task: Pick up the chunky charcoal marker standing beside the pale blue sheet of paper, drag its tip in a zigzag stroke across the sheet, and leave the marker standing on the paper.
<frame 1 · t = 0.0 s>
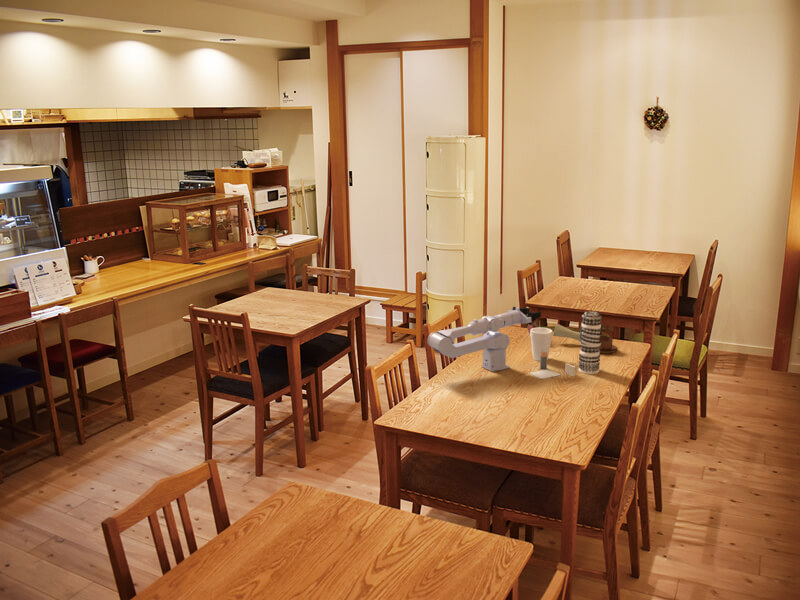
hand: (534, 312, 306), 22 cm above the table, tool horizontal, fingers open, 7 cm apart
flower vase: (557, 343, 336), on the table
decorative candle: (588, 370, 298), on the table
marker: (543, 368, 301), on the table
cup and saucer: (603, 351, 323), on the table
foam cup: (540, 359, 313), on the table
paper: (544, 374, 294), on the table
rectangular block: (569, 374, 293), on the table
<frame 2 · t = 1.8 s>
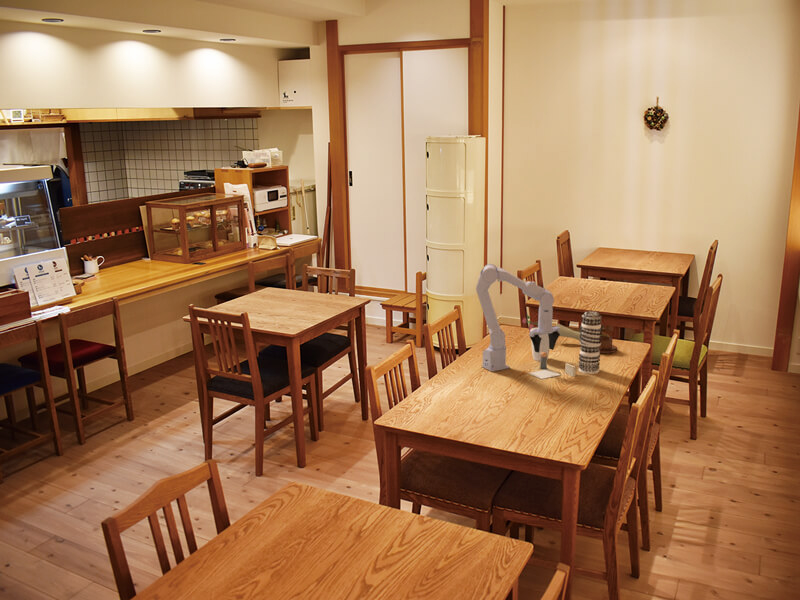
hand: (544, 350, 299), 8 cm above the table, tool pointing down, fingers open, 7 cm apart
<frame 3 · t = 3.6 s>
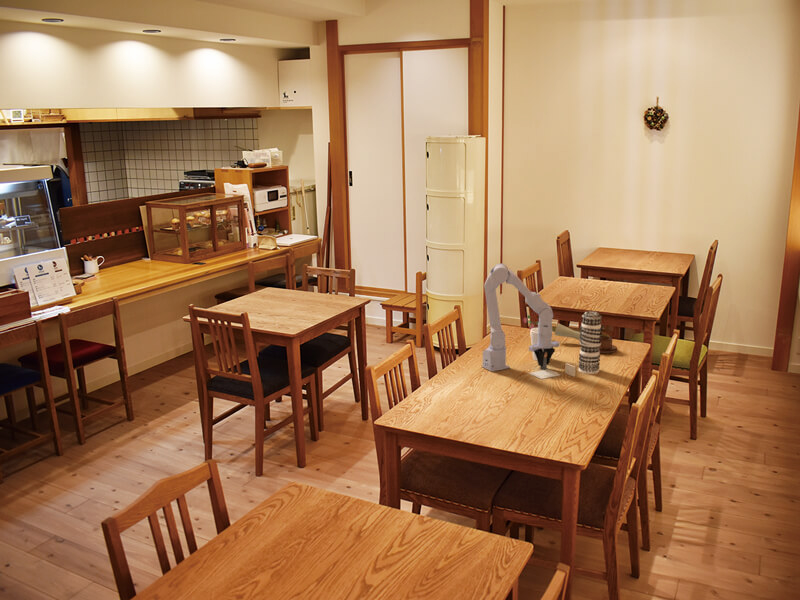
hand: (543, 365, 300), 2 cm above the table, tool pointing down, fingers closed on marker, 3 cm apart
flower vase: (558, 342, 337), on the table, touching cup and saucer
marker: (543, 368, 301), on the table, touching gripper
cup and saucer: (603, 351, 323), on the table, touching flower vase
everything else where it was.
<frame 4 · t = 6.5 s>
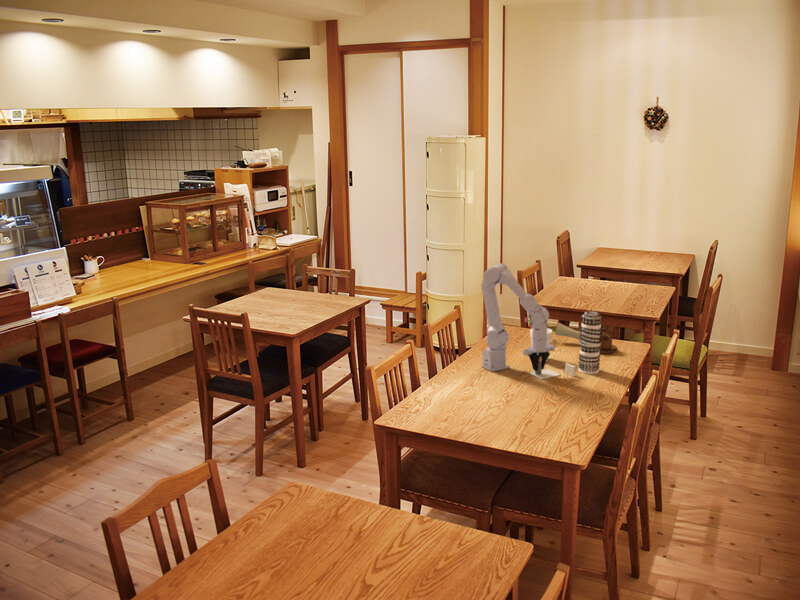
hand: (538, 369, 293), 2 cm above the table, tool pointing down, fingers closed on marker, 3 cm apart
flower vase: (559, 342, 337), on the table
marker: (538, 373, 293), point 1 cm above the table, touching gripper
cup and saucer: (603, 351, 323), on the table
everything else where it was.
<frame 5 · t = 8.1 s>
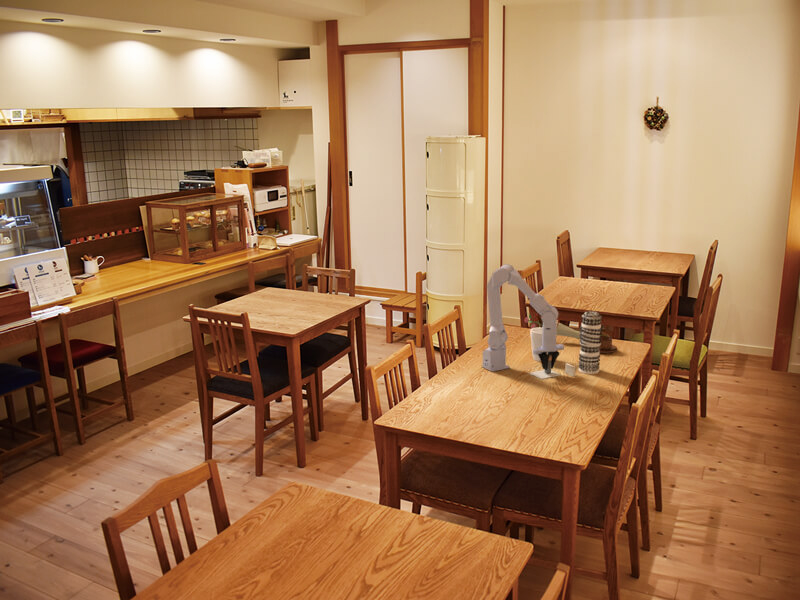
hand: (547, 368, 294), 2 cm above the table, tool pointing down, fingers closed on marker, 3 cm apart
flower vase: (560, 342, 337), on the table, touching cup and saucer
marker: (547, 372, 294), point 1 cm above the table, touching gripper
cup and saucer: (603, 351, 323), on the table, touching flower vase
everything else where it was.
when the fingers open (2 cm above the table, at t = 9.6 s): marker stays where it is, resting on paper.
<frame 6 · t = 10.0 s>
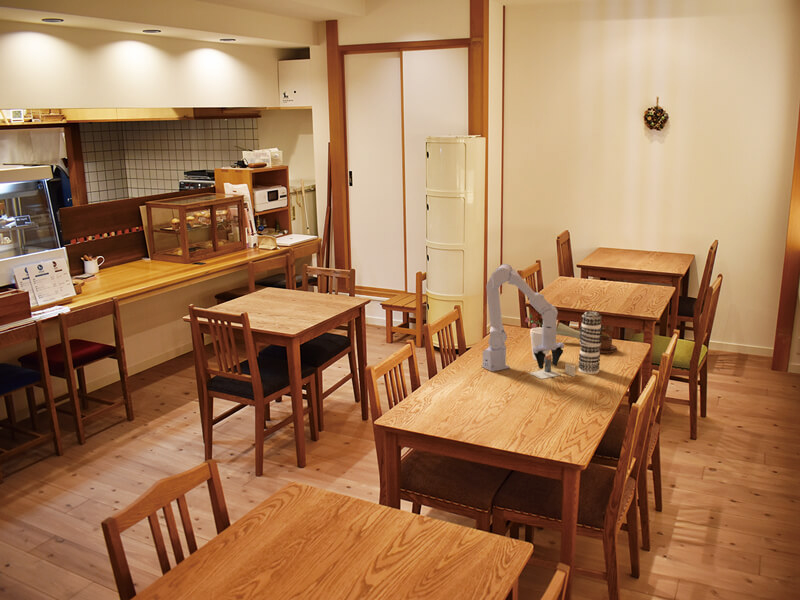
hand: (547, 366, 296), 2 cm above the table, tool pointing down, fingers open, 7 cm apart
flower vase: (560, 342, 338), on the table
marker: (547, 371, 297), resting on paper
cup and saucer: (602, 351, 323), on the table
everything else where it was.
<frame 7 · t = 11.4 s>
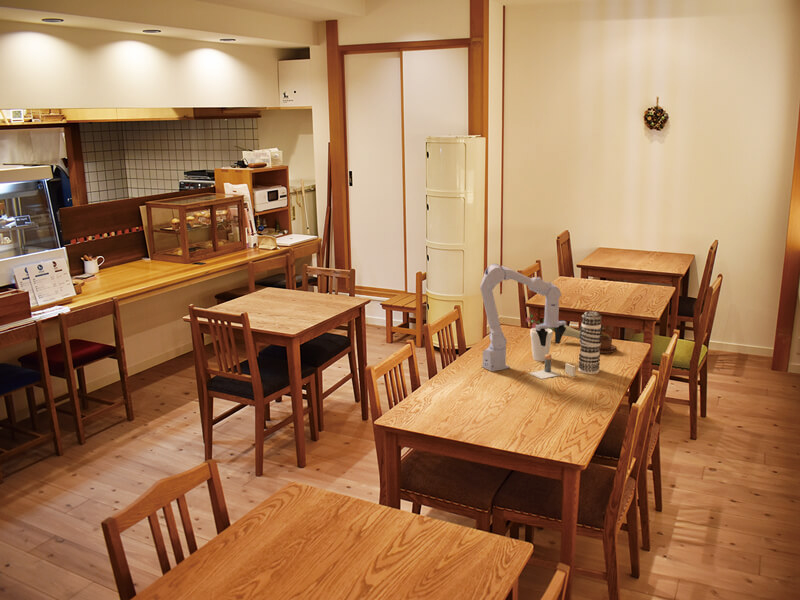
hand: (550, 344, 301), 10 cm above the table, tool pointing down, fingers open, 7 cm apart
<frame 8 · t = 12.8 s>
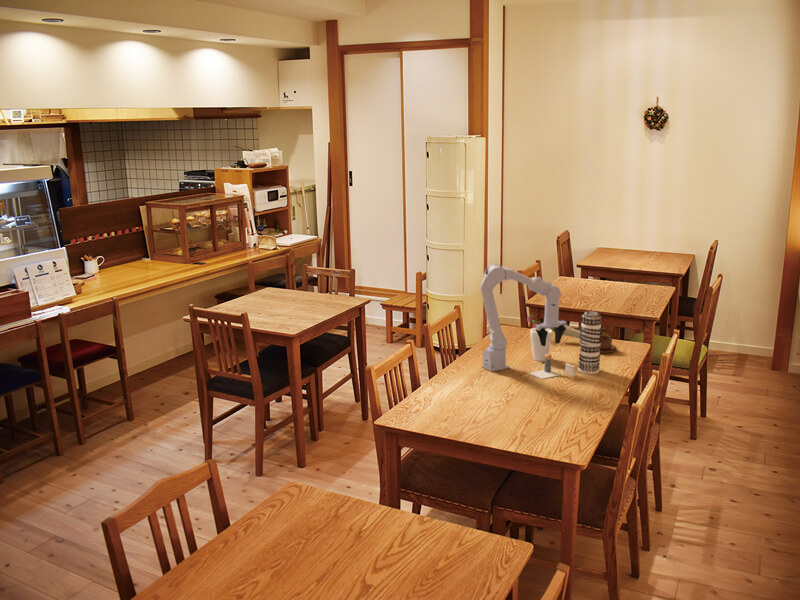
hand: (550, 344, 301), 10 cm above the table, tool pointing down, fingers open, 7 cm apart
at the end: marker inside the target area on the paper (3.6 cm from its centre), point 0.3 cm above the paper's base; marker tilted 0°; the gripper is holding nothing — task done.
